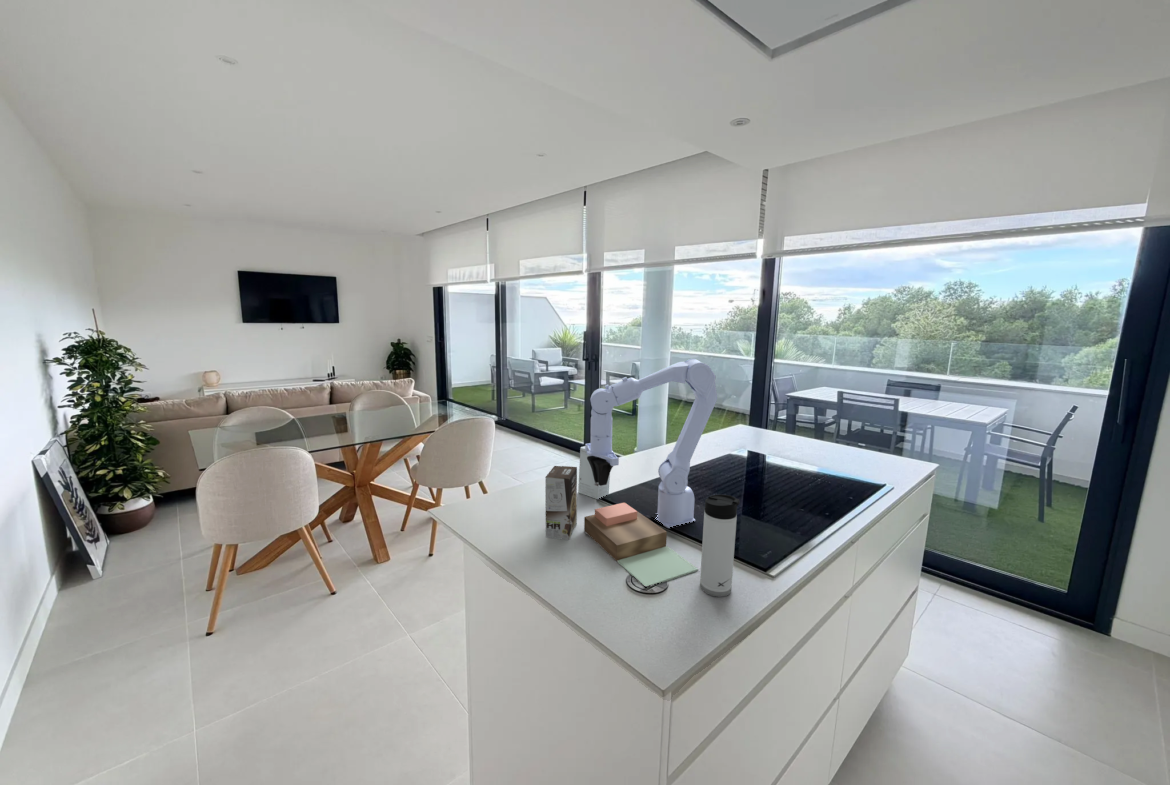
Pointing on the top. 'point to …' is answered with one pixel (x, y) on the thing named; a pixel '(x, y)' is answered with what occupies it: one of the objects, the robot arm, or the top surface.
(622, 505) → the coral block
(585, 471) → the skincare box
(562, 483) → the coffee box
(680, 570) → the sage mat
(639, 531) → the block
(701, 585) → the travel mug
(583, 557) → the top surface
